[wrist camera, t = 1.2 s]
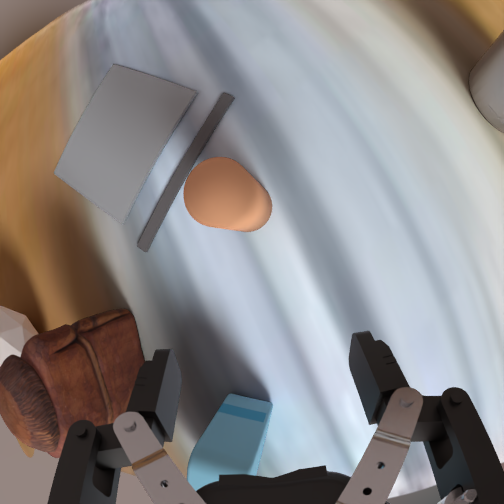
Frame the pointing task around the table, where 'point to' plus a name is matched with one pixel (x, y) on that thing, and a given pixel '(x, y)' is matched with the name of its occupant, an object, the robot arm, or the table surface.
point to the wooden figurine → (70, 378)
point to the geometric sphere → (13, 332)
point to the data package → (230, 441)
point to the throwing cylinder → (226, 196)
